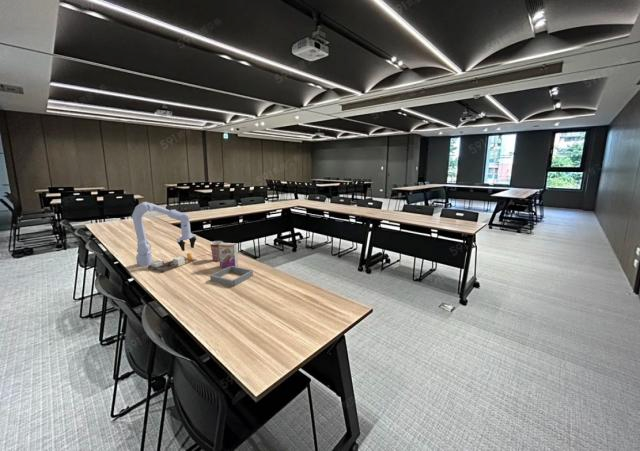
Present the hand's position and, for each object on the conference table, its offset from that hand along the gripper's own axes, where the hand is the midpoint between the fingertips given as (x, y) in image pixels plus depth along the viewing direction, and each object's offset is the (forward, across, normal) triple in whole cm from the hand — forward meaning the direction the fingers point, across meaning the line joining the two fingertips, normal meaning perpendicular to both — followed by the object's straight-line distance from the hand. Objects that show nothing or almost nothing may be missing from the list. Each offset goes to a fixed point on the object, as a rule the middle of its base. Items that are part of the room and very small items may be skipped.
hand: (187, 249), depth 194 cm
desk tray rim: (+9, -9, -49) cm, 51 cm away
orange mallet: (+8, -5, -1) cm, 10 cm away
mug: (+10, +13, -17) cm, 23 cm away
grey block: (+8, -20, +6) cm, 22 cm away
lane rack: (+9, -10, +2) cm, 14 cm away
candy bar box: (+10, +5, -33) cm, 35 cm away
